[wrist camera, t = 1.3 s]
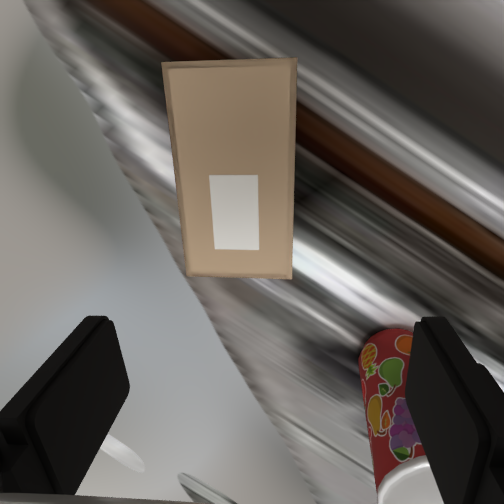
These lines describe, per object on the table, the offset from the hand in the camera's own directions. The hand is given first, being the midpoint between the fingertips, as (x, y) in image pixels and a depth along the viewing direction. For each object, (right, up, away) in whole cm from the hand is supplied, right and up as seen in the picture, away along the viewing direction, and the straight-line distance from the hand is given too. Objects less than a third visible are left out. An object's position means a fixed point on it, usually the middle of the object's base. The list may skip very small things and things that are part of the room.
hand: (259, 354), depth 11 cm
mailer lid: (-1, +9, +14) cm, 16 cm away
